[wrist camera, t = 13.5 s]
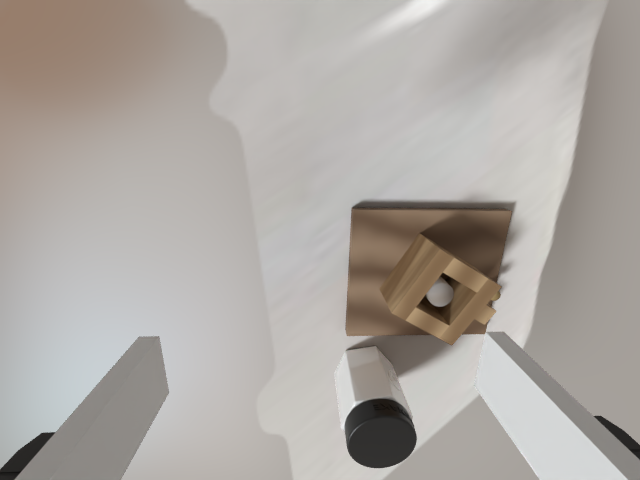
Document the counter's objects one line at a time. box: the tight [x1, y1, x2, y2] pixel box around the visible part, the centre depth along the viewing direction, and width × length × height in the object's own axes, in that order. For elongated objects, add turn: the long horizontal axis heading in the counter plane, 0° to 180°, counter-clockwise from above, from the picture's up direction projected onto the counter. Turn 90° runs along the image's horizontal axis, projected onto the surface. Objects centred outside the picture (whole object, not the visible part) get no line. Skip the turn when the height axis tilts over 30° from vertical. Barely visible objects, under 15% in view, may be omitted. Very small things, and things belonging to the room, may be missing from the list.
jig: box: [346, 208, 512, 336], centre depth 38 cm, size 18×20×6 cm
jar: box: [334, 346, 417, 468], centre depth 39 cm, size 9×8×12 cm
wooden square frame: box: [379, 233, 501, 345], centre depth 37 cm, size 14×9×6 cm, turn 59°
